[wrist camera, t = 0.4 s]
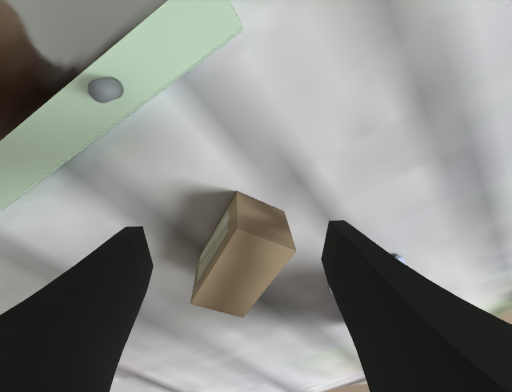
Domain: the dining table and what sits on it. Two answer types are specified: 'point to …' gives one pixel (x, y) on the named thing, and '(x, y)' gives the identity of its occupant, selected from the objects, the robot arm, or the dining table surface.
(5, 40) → the dining table surface
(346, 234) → the robot arm
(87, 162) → the dining table surface
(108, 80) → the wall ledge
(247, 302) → the frame block
